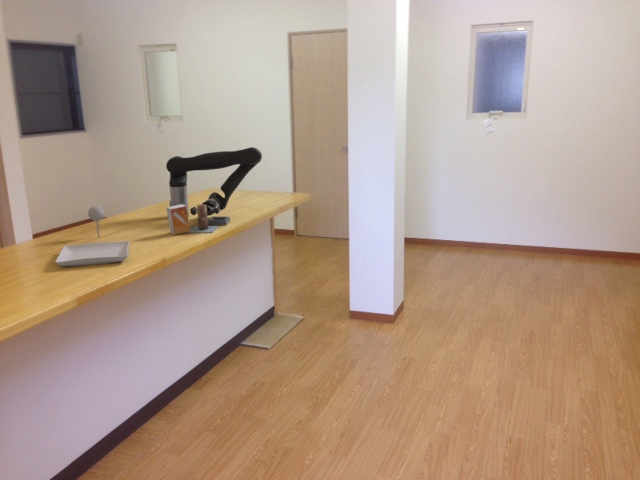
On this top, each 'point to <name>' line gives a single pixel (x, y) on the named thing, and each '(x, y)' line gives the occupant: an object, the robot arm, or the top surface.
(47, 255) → the top surface
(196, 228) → the mat
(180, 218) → the small box
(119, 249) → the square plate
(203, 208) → the plug
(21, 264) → the top surface
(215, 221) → the socket
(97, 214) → the lollipop
